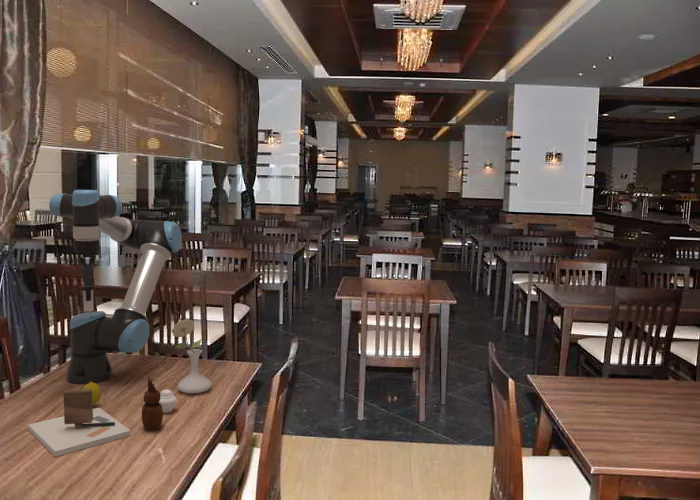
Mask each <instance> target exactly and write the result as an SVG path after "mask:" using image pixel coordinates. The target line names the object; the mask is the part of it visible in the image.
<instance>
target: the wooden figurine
mask: <svg viewBox="0 0 700 500" xmlns="http://www.w3.org/2000/svg"><path fill="white" fill-rule="evenodd" d="M160 393H161V391H159V390H158V389H156V386H155V384H154V383H153V379H152V378H150V375H149V376H147V390H145V392H144V394H143V402H144V404H143V405H142V407H141V408H142V409H141V422H142V424H143V425H142V426H143V428H144V429H145V430H147V431H155V430H156V431H157V430H158V429H160V427H161V426H162V423H163V417H164V416H163V415H164V413H163V410H162V405H161V404H160V403H159V401H160Z"/></svg>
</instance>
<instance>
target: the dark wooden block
mask: <svg viewBox="0 0 700 500" xmlns="http://www.w3.org/2000/svg"><path fill="white" fill-rule="evenodd" d="M93 407H94V405H93V399H92V389H83V388H82V389H66V390H64V392H63V416H64V423H65V424H75V428H82V427H91V426H108V425H115V422H106V423H92V420H93V409H94V408H93ZM83 423H88V424H83Z"/></svg>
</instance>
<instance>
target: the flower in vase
mask: <svg viewBox="0 0 700 500" xmlns="http://www.w3.org/2000/svg"><path fill="white" fill-rule="evenodd" d="M194 323H195V322H194V320H190V319H189V318H187V319H186V318H185V319H183V320H182V319H181V320H180V321H178V322H176V323H175V324H174V325H173V328H172V329H171V333H172V336H173V337H175V338H177V337H178V338H184V337H185V341H186V342H180V343H178V344H177V345H175V347H174V349H185V348H186V347H187V346H188V347H189V349H187V350H186V353H187V355H188V356H189V360H190V371H189V373H188V374H187V375H186V376H185V377H183V378H182V379H181V380H180V381H179V382H178V383H177V385H176V387H177V390H178V391H180V392H182V393H185V394H186V393H187V394H200V393H202V392H205V391H208V390H210V389H211V387H212V382H211V381H210V380H209V379H208V378H207V377H206V376H204V375H203V374H202V373H200V371H199V359H200V358H199V357H200V355H201V353H202V352H203V350H202V349H199V348H197V347H199V346H200V345H201V342H202V339H199V340H196V341H195V342H193V343H192V344H191V345H190V344H189V342H188V337H187V336H188V335H190V334H191V333H192V332H193V330H194V329H195V324H194Z"/></svg>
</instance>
